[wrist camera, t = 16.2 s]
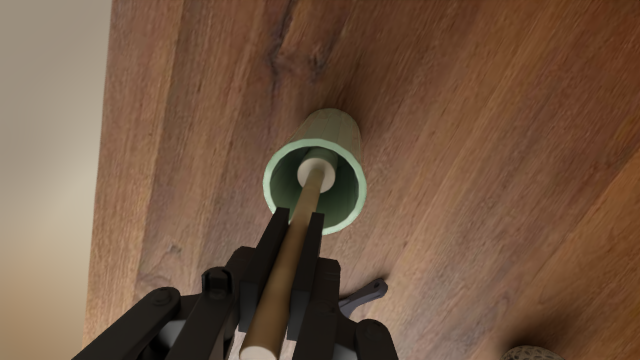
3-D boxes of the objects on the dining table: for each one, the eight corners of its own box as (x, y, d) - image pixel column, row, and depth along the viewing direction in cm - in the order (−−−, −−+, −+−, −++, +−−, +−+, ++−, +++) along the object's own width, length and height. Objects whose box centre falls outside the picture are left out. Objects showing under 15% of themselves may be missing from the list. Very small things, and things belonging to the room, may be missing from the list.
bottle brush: (300, 153, 33) (189, 348, 10) (324, 134, 32) (260, 305, 9) (319, 177, 34) (255, 405, 11) (344, 159, 33) (328, 371, 10)
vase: (285, 134, 41) (242, 179, 25) (335, 94, 38) (322, 116, 22) (324, 181, 43) (306, 251, 27) (374, 146, 40) (387, 200, 24)
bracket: (412, 307, 49) (416, 321, 46) (342, 347, 53) (341, 362, 51) (354, 246, 46) (354, 257, 43) (285, 294, 51) (281, 307, 48)
